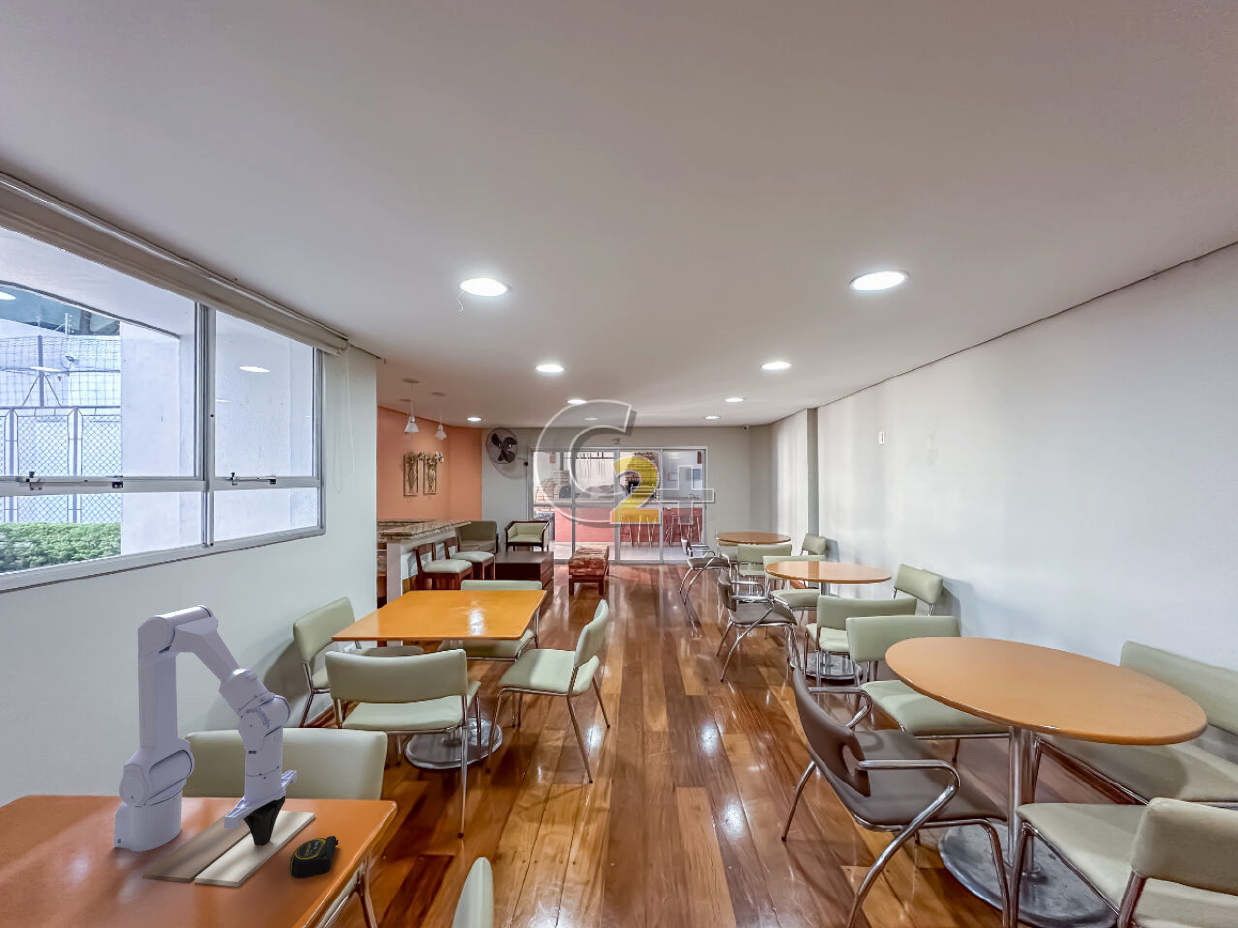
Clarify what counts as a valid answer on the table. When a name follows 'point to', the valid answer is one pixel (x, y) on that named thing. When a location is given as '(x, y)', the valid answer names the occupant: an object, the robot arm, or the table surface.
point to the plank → (253, 852)
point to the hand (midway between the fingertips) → (262, 842)
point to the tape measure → (313, 857)
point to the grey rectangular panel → (199, 852)
